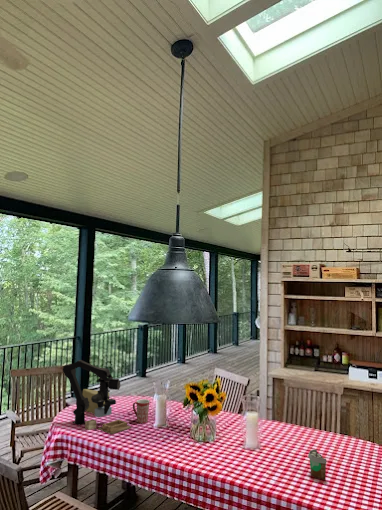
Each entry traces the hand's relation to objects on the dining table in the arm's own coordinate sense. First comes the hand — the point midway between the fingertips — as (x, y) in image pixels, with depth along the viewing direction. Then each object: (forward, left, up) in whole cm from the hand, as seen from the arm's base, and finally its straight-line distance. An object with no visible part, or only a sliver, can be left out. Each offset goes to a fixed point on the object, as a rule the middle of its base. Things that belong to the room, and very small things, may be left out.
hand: (102, 413), depth 260 cm
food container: (+132, +26, -7) cm, 135 cm away
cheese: (-26, +12, -7) cm, 30 cm away
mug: (+12, +22, -7) cm, 26 cm away
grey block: (0, 0, -1) cm, 1 cm away
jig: (+11, +1, -7) cm, 13 cm away
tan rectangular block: (0, -9, -7) cm, 12 cm away
